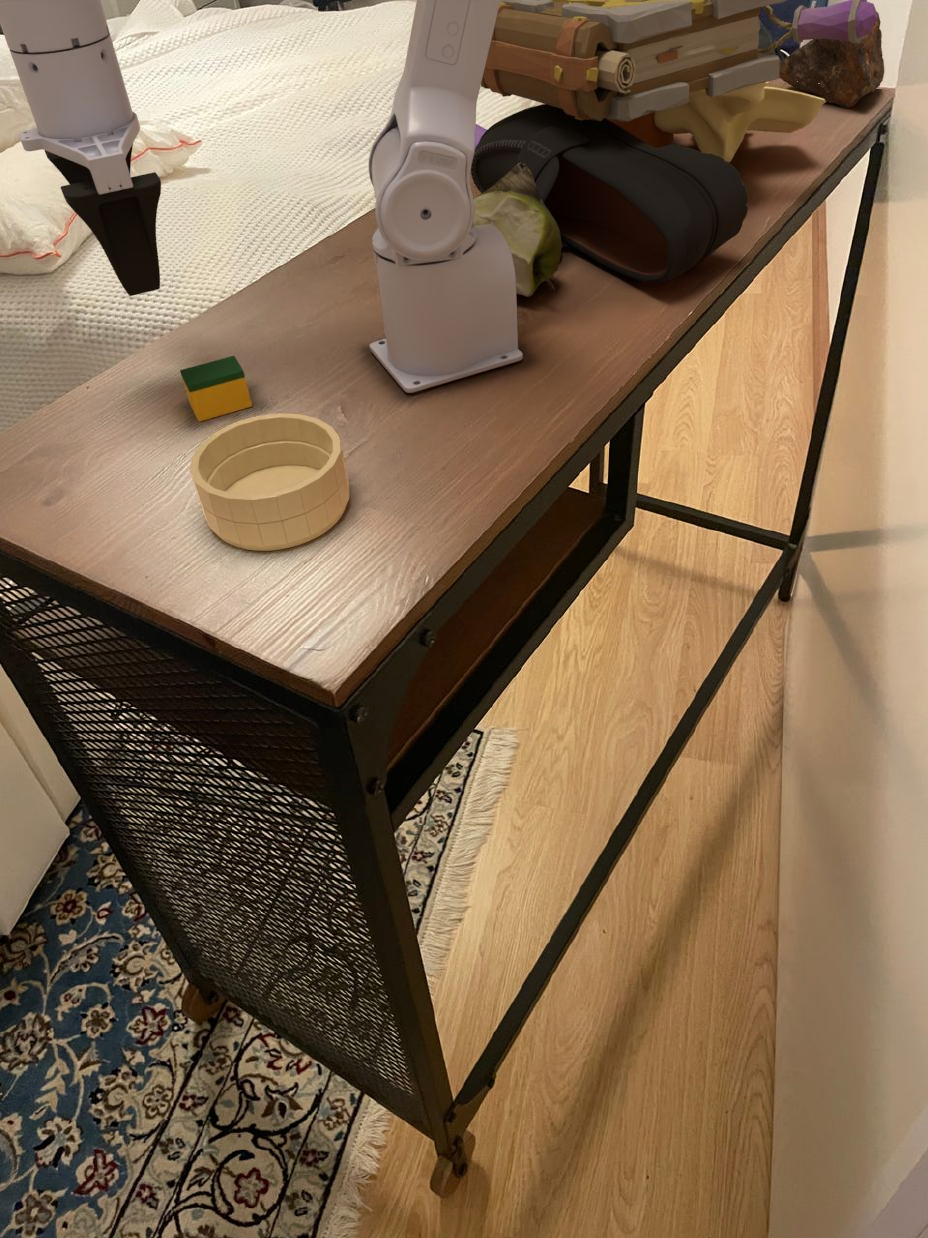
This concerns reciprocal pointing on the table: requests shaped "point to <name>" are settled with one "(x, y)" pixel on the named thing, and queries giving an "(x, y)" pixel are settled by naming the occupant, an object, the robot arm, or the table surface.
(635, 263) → the loafer
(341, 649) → the table surface
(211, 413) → the sponge
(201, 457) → the bowl
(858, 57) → the rock
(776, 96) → the beige curved piece
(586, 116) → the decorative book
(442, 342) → the robot arm
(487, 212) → the fruit
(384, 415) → the table surface
